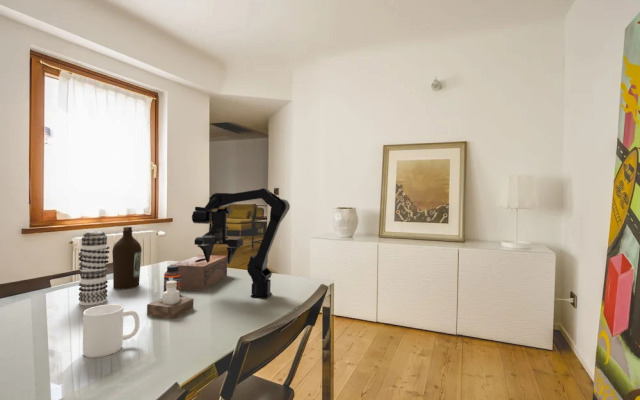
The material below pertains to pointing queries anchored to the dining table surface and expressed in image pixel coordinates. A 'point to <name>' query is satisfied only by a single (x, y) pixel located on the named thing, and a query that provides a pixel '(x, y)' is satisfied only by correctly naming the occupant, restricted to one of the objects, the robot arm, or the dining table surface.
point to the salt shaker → (171, 293)
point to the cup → (105, 329)
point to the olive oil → (126, 261)
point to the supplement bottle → (172, 276)
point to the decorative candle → (93, 268)
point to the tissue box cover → (201, 271)
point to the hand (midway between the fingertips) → (218, 263)
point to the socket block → (169, 308)
